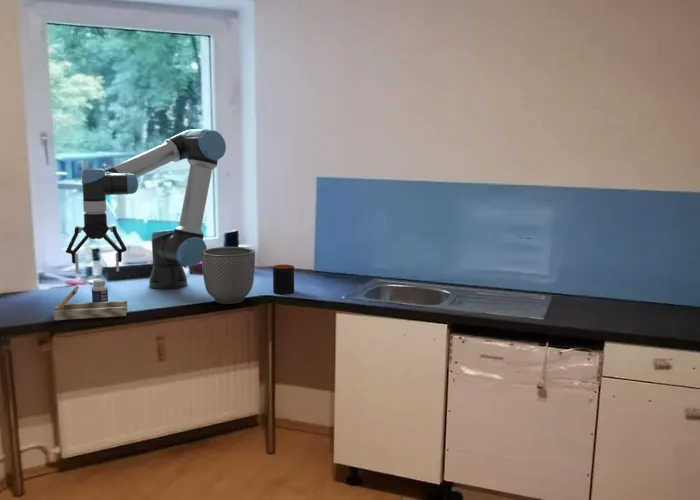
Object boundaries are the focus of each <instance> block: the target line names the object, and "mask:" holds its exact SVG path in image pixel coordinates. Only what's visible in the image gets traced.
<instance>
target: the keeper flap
mask: <svg viewBox="0 0 700 500" xmlns="http://www.w3.org/2000/svg"><path fill="white" fill-rule="evenodd" d="M79 288H80V287H79V286H78V285H76V287H74V288H73V290H71V291H70V292H69V293H68V294H67V296H65V298H63V299H62V301H61V303H59V304H60V307H61V308H62V307H63V306H64V305H65V304H68V302H69V301H70V300H71V299H72V298H73V297H74V296H75V295H76V294H77V292H78V290H79Z"/></svg>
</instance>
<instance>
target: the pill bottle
mask: <svg viewBox="0 0 700 500" xmlns="http://www.w3.org/2000/svg"><path fill="white" fill-rule="evenodd" d="M108 292H109V291H108V286H107V285H106V280H105V279H95V280H93V286H92V287H91V300H92V302H109V297H108V296H109V294H108Z"/></svg>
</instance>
